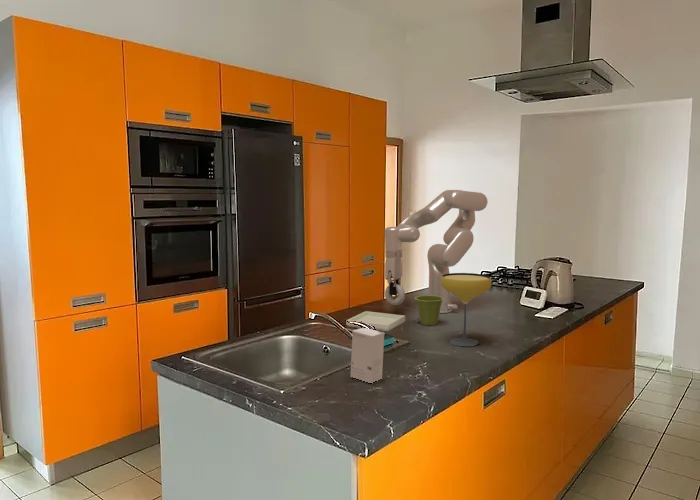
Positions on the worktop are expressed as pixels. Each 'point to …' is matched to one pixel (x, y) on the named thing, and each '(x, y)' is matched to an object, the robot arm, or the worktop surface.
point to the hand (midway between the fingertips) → (394, 293)
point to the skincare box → (367, 355)
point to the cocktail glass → (465, 295)
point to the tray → (378, 320)
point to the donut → (399, 299)
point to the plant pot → (429, 309)
